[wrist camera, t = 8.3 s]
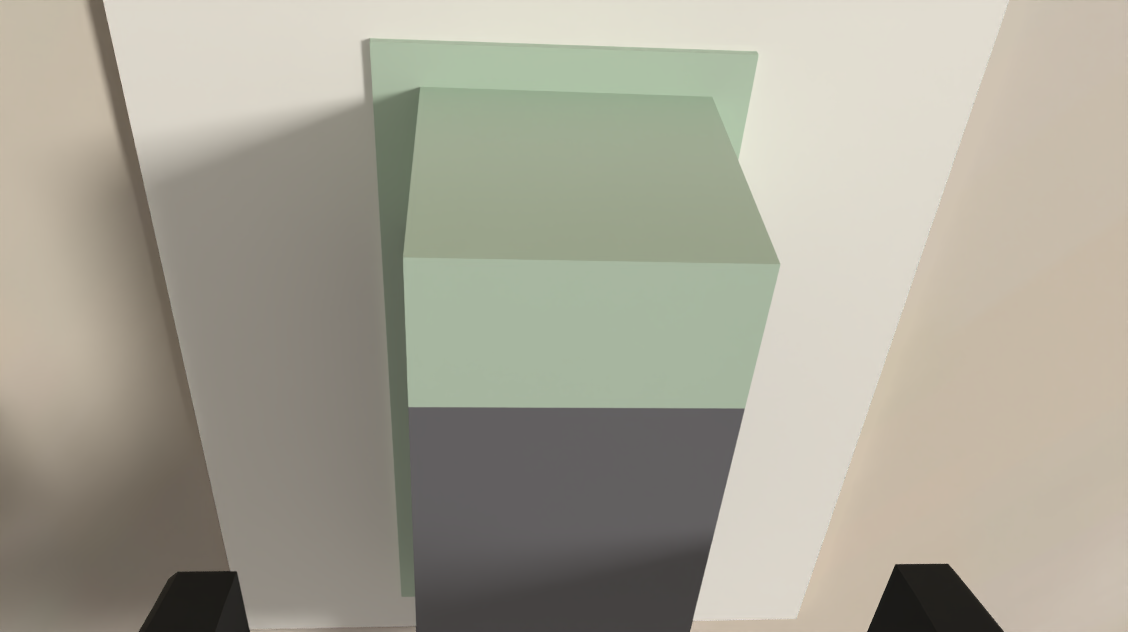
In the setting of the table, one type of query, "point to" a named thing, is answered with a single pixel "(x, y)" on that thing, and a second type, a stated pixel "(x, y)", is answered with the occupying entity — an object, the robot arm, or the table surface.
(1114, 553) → the table surface
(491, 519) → the block
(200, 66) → the paper sheet
